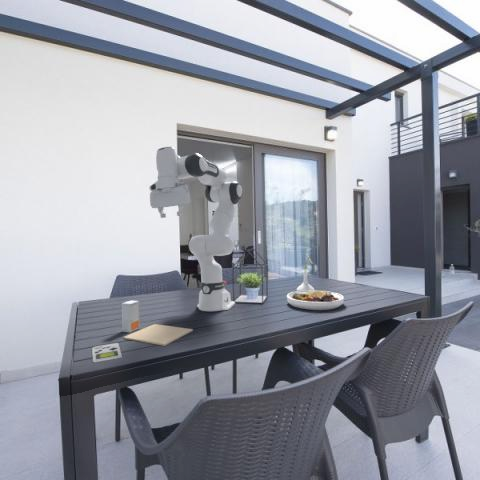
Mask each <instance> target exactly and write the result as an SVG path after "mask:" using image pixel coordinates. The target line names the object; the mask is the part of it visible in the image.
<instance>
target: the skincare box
mask: <svg viewBox="0 0 480 480" xmlns="http://www.w3.org/2000/svg"><path fill="white" fill-rule="evenodd" d="M139 303H140V301H139V300H129V301H125V302H122V303H121V327H122V328H121V331H122V332H123V333H133V332H134V331H136V330H137V331H138V330H139V329H140V310H139V309H140V307H139V306H140V304H139Z"/></svg>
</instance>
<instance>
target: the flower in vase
mask: <svg viewBox="0 0 480 480" xmlns="http://www.w3.org/2000/svg"><path fill="white" fill-rule="evenodd" d="M305 255H306V257H307V260H306V262H305V264H304V267H303V270H301V273H302V276H303V282H302V283H301V284H300V285H299V286H297V288H296V291H309V290H314V291H315V288H314V287H313V286H312V285H311V284H309V282H308V274H309V272H310V270H307V269H308V265H307V263H308V261H309V262H310V264H311V265H313V264H314V263H313V261H312V260H311V258H310V256H309V255H308V253H306V254H305Z"/></svg>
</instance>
